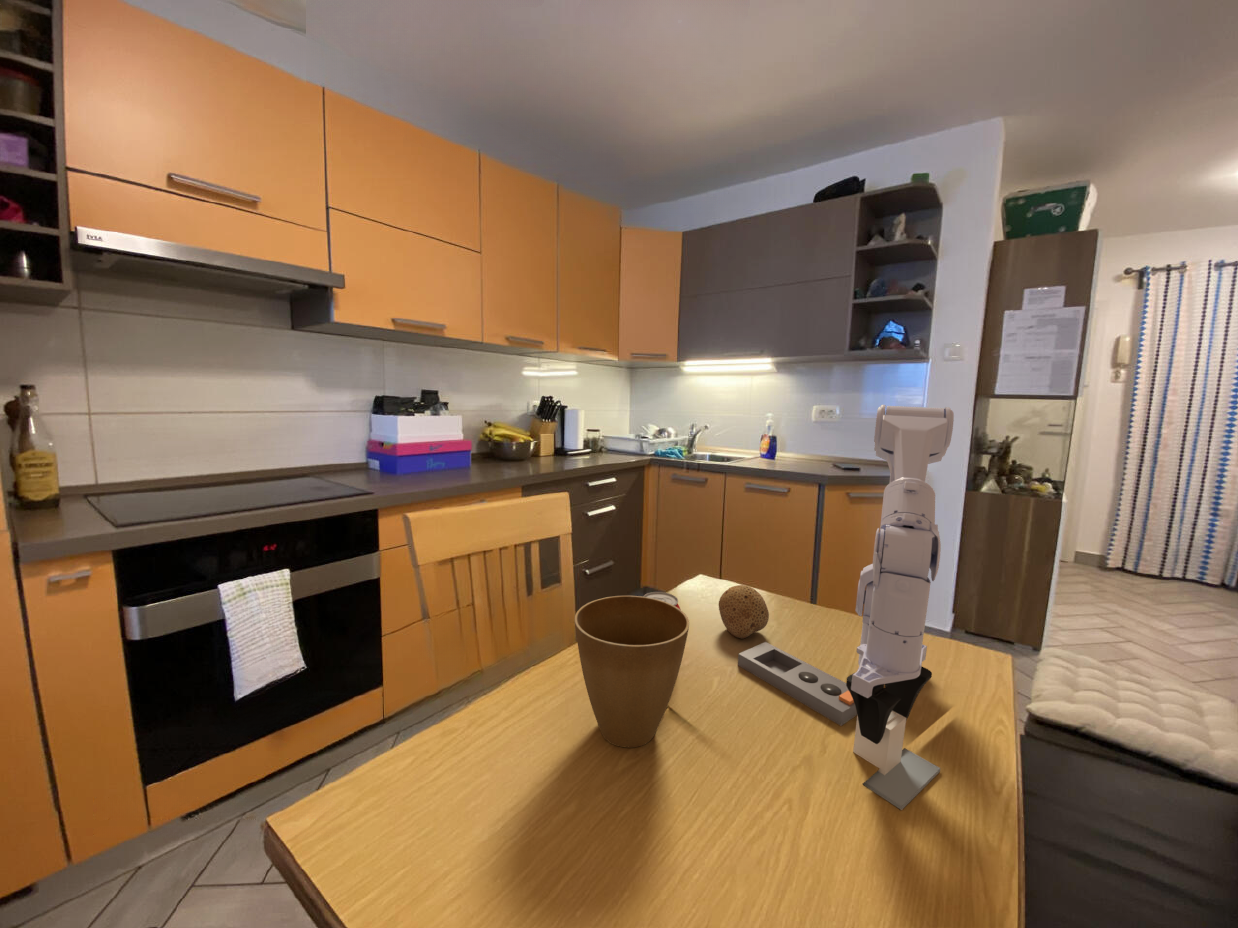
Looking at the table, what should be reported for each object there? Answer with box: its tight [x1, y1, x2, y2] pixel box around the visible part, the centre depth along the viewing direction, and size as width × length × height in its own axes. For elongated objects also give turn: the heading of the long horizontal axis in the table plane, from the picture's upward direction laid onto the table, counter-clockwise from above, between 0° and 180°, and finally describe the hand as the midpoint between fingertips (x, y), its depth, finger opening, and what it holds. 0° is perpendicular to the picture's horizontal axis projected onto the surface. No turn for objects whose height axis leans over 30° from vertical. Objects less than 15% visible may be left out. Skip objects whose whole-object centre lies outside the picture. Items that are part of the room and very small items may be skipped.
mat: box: [862, 747, 941, 811], centre depth 63 cm, size 10×10×1 cm
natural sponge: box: [718, 584, 770, 639], centre depth 93 cm, size 9×9×10 cm
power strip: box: [737, 641, 857, 727], centre depth 78 cm, size 7×18×4 cm, turn 37°
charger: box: [852, 711, 907, 775], centre depth 63 cm, size 4×4×6 cm
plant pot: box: [574, 595, 690, 748], centre depth 67 cm, size 15×15×16 cm
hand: (883, 728), depth 62 cm, fingers open, 6 cm apart
